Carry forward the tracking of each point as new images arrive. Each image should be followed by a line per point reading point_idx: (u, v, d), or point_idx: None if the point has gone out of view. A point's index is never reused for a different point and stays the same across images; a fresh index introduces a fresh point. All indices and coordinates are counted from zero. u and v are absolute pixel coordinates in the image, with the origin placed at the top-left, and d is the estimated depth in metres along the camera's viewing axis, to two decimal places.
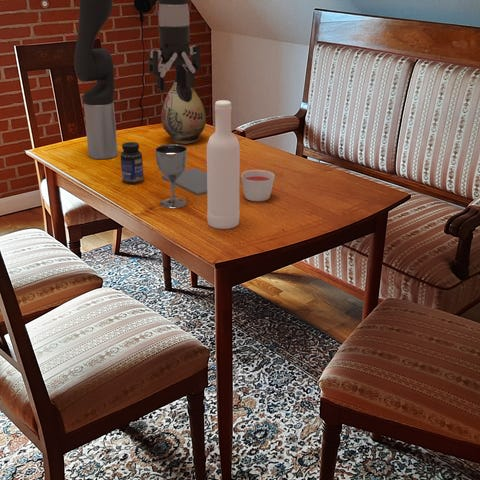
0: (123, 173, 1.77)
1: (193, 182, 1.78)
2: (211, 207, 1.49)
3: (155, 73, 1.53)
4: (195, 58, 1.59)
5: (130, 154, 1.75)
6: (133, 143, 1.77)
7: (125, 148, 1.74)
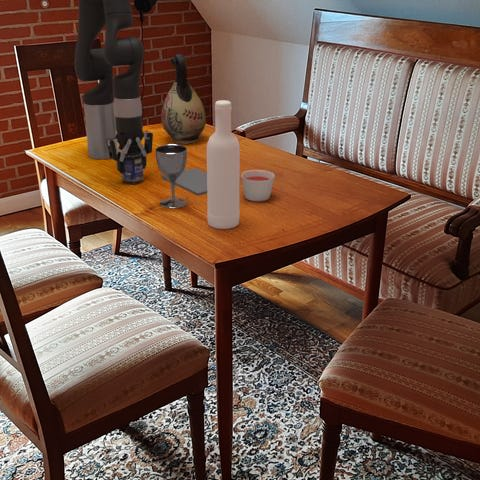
0: None
1: (193, 182, 1.78)
2: (211, 207, 1.49)
3: (115, 158, 1.73)
4: (148, 143, 1.78)
5: (130, 154, 1.75)
6: None
7: None
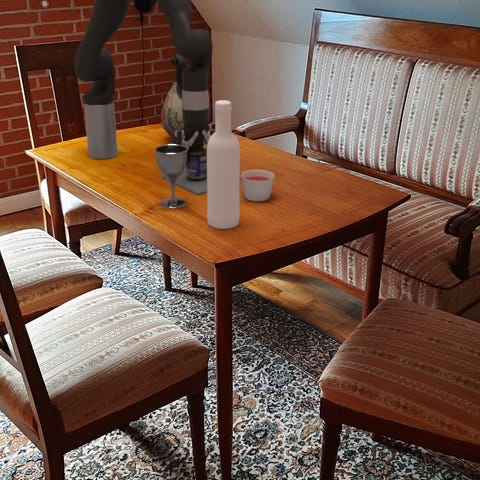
0: (188, 170, 1.78)
1: (193, 182, 1.78)
2: (211, 206, 1.49)
3: None
4: None
5: (196, 151, 1.75)
6: None
7: None
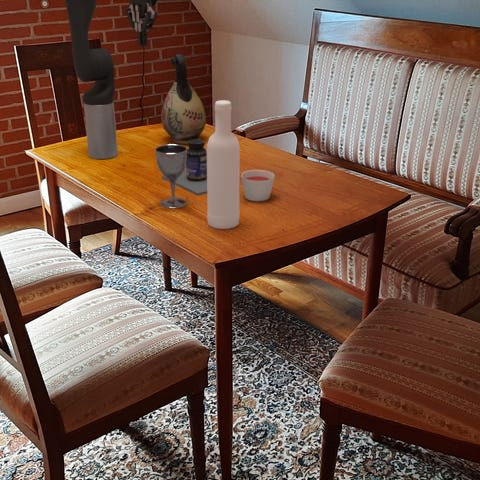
0: (188, 170, 1.78)
1: (193, 182, 1.78)
2: (211, 207, 1.49)
3: (132, 25, 1.69)
4: None
5: (196, 151, 1.75)
6: (198, 140, 1.77)
7: (191, 145, 1.75)
